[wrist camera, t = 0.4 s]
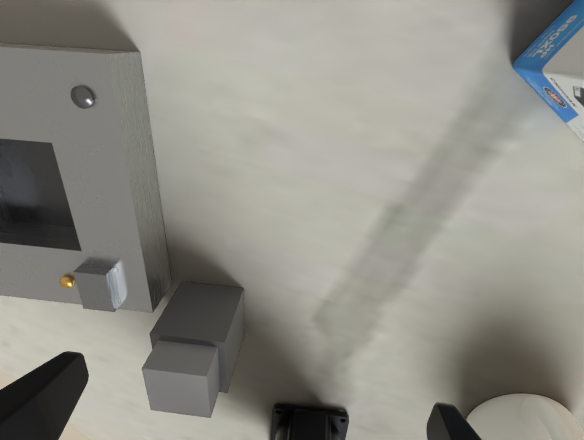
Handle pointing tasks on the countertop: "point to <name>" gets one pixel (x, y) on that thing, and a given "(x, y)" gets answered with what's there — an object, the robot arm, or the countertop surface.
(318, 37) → the countertop surface
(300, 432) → the robot arm
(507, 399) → the cup
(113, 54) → the faceplate
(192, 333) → the plug
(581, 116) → the ink box
